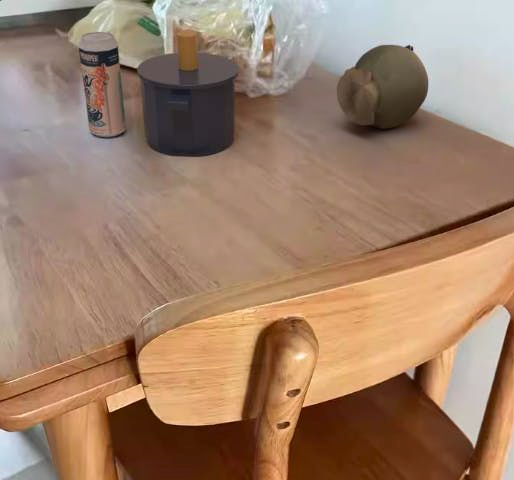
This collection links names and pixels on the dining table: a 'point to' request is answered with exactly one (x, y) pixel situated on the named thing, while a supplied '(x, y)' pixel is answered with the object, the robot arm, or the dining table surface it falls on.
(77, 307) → the dining table surface
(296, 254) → the dining table surface
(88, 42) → the beer can
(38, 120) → the dining table surface
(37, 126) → the dining table surface
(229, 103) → the pot
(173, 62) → the lid
